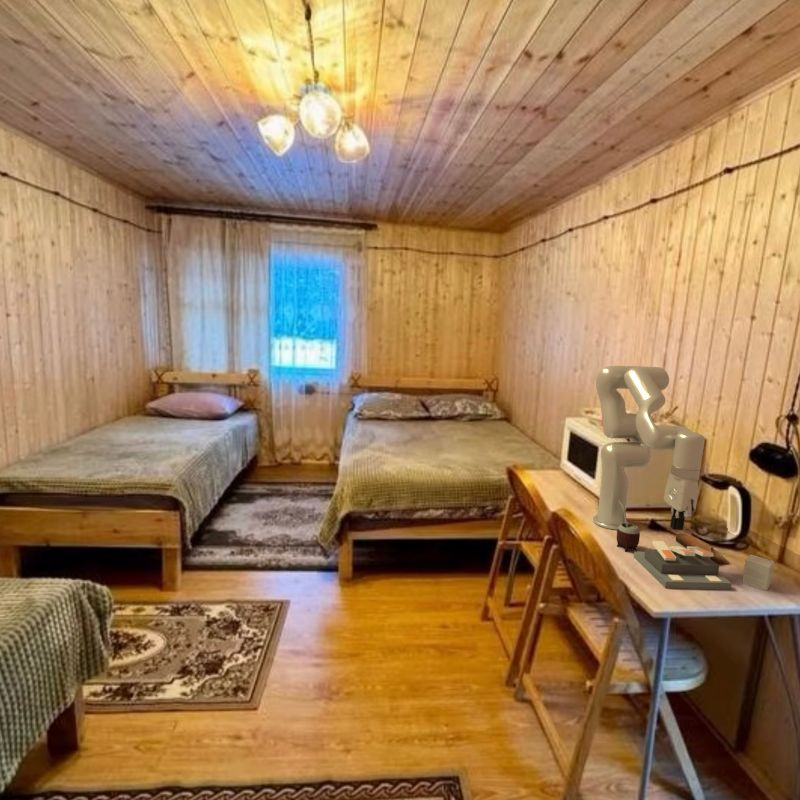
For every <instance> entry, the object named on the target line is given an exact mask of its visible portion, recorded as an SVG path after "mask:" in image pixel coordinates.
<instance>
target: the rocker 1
mask: <svg viewBox="0 0 800 800" xmlns="http://www.w3.org/2000/svg"><path fill="white" fill-rule="evenodd" d="M652 546H654V548H655V549H657V551H658V552H659V554H660V556H662V557H663V558H664V560H671V561H676V557H675V555H674V554H673V553H672V552H671V550H670V549H669V546H668V545H667V544H666V543H665V541H663V540H652Z"/></svg>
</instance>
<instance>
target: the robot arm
mask: <svg viewBox="0 0 800 800" xmlns="http://www.w3.org/2000/svg"><path fill="white" fill-rule="evenodd" d="M595 379H596V380H595V386H596V387H595V388H596V393H597V395H598V398H599V402H600V410H601V411H600V413H601V422H602V430H603V434H604V436H605V437H607V438H609V439H623V440H624V439H625V440H626V439H627V440H628V439H629V441H628V442H627V441H618V442H617V441H612V442H608V443H606V444H604V445H602V447H601V450H600V461H601V475H600V476H601V477H600V478H601V479H600V486H599V487H600V490H599V499H598V500H599V501H598V507H597V511H598V512H597V514H596V515H594V516H592V520H593V521H592V522H593V523H594V524H595V525H598V526H600V527H601V528H605V529H610V530H616V531H617V530H618V527H619V525H621V524H622V523H626V522H625V517H624V512H623V508H622V506H621V504H620V503H619V501H620V502H621V503H622V505H623V506H624V508H625V511H626V512H627V503H628V493H629V483H630V482H629V481H630V480H629V477H628V475H627V473H626V471H625V469H630V468H631V469H632V468H633V469H635V468H645V467H647V466H648V465H649V463H650V461H651V456H652V455H651V450H655V451H656V450H658V451H659V450H661V451H662V450H669V451H670V450H673V455H672V461H671V469H670V473H669V475H668V476H667V477H668V478H667V480H666V484H665V490H664V494H663V501H664V502H665V503H666V504H667V505H669V507H670V508H671V509H670V513H671V514H670V515H671V518H670V524H669V527H670V528H671V529H672V530H675V531H676V530H677V531H682V530H683V531H684V527H685V526H684V525H685V520H686V519H687V518H692V516H693V514H692V513H694V512H695V511H696V510H697V509H696V508H697V504H698V497H699V495H698V493H699V480H700V479H699V478H700V473H701V468H702V460H703V456H704V448H705V440H706V439H705V436H704V435H703V434H701V433H699V432H694V431H692V430H690V429H689V428H688V427H687V426H683V425H656V424H655V423H654V421H653V420H652V418H651V417H652V416H651V415H652V414H653V413H655V412H658V411H659V410H660V409H661V408H662V407H663V406H664V405H665V403H666V397H665V395H664V394H663V392H662V391H664V390H665V389H667V387H668V386H669V383H670V376H669V374H668V372H667V371H666V370H665V369H664V368H662V367H660V366H642V365H641V366H640V365H639V366H638V365H637V366H635V365H631V366H630V365H609V366H605V367H602V368H601V369H600V370H599V371H598V373H597V375H596V378H595ZM619 389H621V390H622V389H623V390H628V391H629V392H630V394H631V396H632V398H633V399H634V401H635V403H636V404H637V406H638V409H637V412H636V413H635V412H634V413H631V412H630V413H629V412H627V410H626V409H627V408H626V401H625V398H624V397H623V395H622V394H621V393H620V392H619V391H618V390H619ZM627 523H629V522H628V520H627Z"/></svg>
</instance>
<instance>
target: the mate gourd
mask: <svg viewBox="0 0 800 800" xmlns="http://www.w3.org/2000/svg"><path fill="white" fill-rule="evenodd" d="M619 503H620V504H621V506H622V508H623V512H624V517H625V522H626V523H622V524H621V525H619V527H618V530H616V542H617V544H616V547H617V548H621V549H624V552H626V553H628V550H630V551H633V552H638V546H639V544H640V543H639V542H640V536H641V532H640V531H641V530H640V529H639V527H638V526H637V525H635V524H632V523H630V522H628V523H627V521H628V520H627V518H628V517H627V514H626V512H627V510H626V511H625V508H624V506H623V505H622V503H621V502H620V501H619Z"/></svg>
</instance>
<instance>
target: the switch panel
mask: <svg viewBox="0 0 800 800" xmlns="http://www.w3.org/2000/svg"><path fill="white" fill-rule="evenodd" d="M644 550H645V551H633V558H634V559H635V560H636V561H637V563H639V564H640V565H641V566H642V567H643V568H644V569H645V570H646V571H647V572H648V573H649V574H650V575H651V576H652V577H653V578H654V579H655V580H656V581H657V582H659V583H660V585H662V586H663V588H664V589H689V590H691V589H693V590H731V589H732V588H731V587H732V582H730V581H729V580H728V579H727V578H726V577H724V576H723V575H722V574H720V573H719V572H720V565H718V564H716V563H715V562H714V561H712V560H711V559H710V558H708V557H707V556H704V557H697V556H696V553H695V556H678V553H677V552H674V551H672V550H671V552H672V553H673V554H674V555H675V557H676V561H671V560H664V558H663V557H662V556H660V554H659V552H658V551H657V549H656V548H655V549H653V548H652V549H649V548H645V549H644Z"/></svg>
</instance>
